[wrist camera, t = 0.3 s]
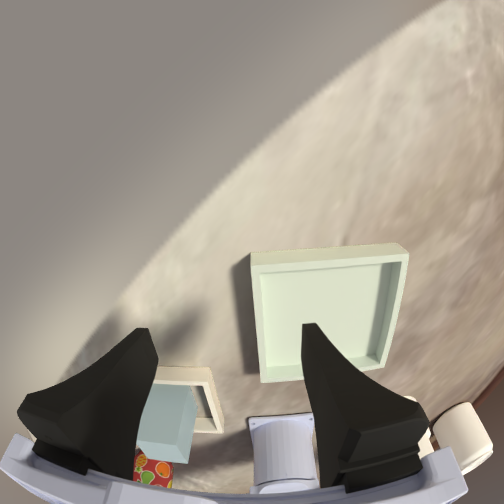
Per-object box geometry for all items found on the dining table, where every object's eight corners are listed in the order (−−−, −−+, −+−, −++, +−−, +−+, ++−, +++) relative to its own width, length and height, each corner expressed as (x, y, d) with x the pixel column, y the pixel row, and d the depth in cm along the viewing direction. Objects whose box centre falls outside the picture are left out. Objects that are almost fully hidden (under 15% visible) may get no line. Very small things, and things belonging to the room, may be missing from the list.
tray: (376, 352, 26) (384, 367, 24) (260, 365, 26) (260, 382, 24) (396, 242, 21) (409, 253, 19) (250, 252, 22) (250, 265, 20)
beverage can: (425, 434, 35) (445, 484, 24) (439, 410, 32) (465, 465, 21) (460, 419, 34) (482, 464, 23) (475, 393, 31) (503, 442, 20)
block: (197, 407, 29) (187, 463, 22) (163, 405, 30) (148, 458, 22) (189, 384, 28) (176, 445, 20) (152, 382, 28) (133, 439, 20)
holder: (224, 420, 30) (223, 433, 28) (149, 415, 31) (145, 427, 29) (210, 367, 26) (207, 381, 25) (121, 363, 27) (115, 376, 25)
